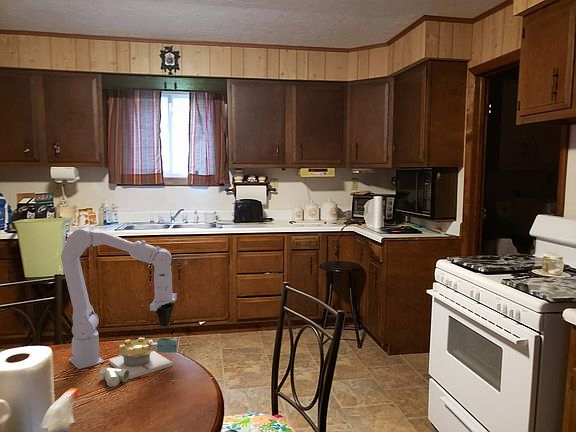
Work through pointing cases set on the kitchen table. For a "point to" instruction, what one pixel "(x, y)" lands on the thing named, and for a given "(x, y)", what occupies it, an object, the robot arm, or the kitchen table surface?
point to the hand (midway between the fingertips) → (164, 325)
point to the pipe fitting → (114, 375)
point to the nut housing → (141, 364)
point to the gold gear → (147, 347)
